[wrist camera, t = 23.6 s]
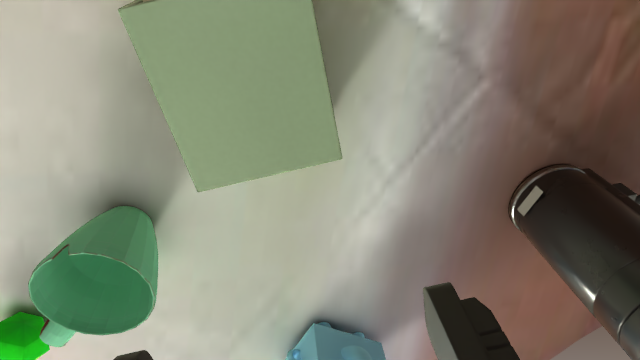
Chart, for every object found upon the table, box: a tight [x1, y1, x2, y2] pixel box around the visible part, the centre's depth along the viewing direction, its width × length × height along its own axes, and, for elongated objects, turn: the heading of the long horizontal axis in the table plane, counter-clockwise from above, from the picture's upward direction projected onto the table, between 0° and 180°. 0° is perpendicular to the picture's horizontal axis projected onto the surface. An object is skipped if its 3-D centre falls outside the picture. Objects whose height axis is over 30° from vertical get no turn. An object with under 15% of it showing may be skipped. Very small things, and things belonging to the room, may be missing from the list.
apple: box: [0, 312, 50, 360], centre depth 46 cm, size 7×6×9 cm
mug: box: [28, 206, 158, 347], centre depth 39 cm, size 15×10×10 cm
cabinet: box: [118, 0, 342, 192], centre depth 31 cm, size 14×12×9 cm
